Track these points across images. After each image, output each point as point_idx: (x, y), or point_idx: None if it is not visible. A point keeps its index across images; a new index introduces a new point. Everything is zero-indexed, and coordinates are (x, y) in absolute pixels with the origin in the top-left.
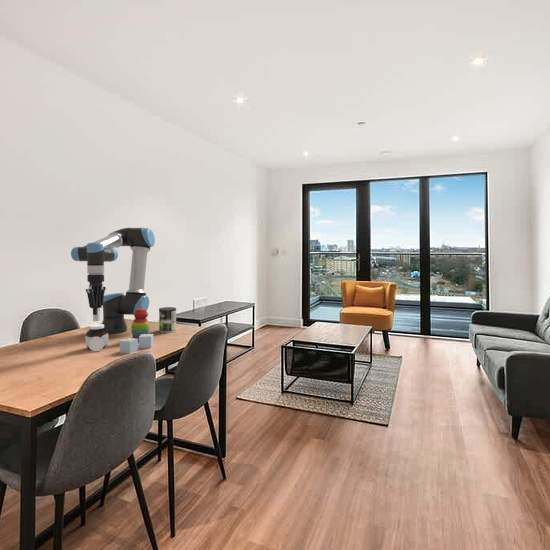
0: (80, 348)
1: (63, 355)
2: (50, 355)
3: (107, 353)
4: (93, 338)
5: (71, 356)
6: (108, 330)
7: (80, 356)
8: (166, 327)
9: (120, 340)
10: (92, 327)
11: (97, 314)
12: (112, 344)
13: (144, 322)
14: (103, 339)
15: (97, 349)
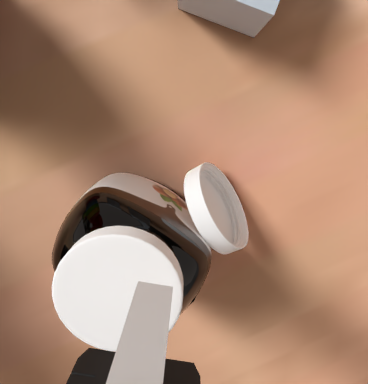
0: None
1: (292, 322)
2: (287, 376)
3: (269, 110)
4: (218, 241)
5: (314, 277)
6: None
7: (319, 234)
8: None
9: (267, 9)
10: (182, 302)
11: (164, 351)
12: (64, 164)
13: None
14: (152, 192)
15: (215, 193)
